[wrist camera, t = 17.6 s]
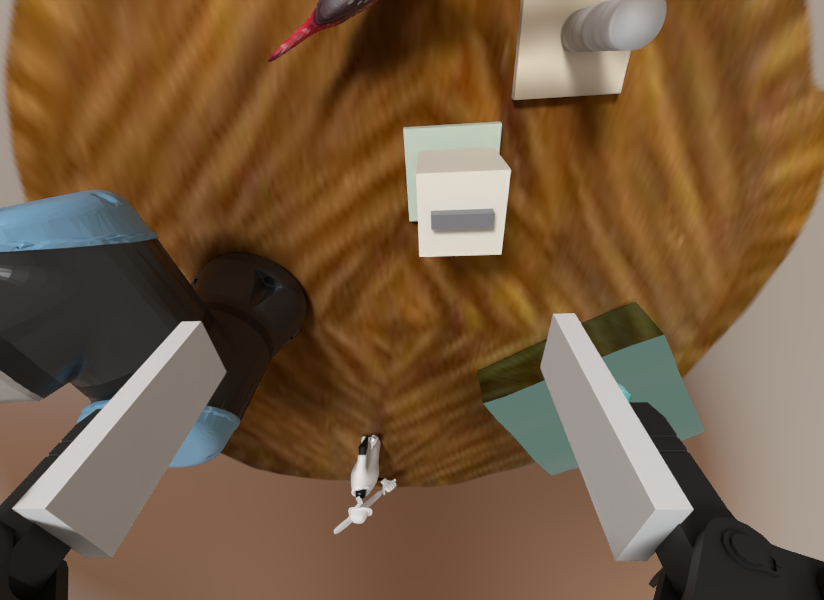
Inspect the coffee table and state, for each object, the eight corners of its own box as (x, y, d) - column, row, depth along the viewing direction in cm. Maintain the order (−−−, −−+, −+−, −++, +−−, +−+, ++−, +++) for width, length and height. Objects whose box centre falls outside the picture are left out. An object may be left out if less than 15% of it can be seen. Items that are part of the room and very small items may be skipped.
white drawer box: (420, 221, 37) (419, 262, 30) (417, 150, 33) (415, 177, 26) (488, 219, 37) (503, 260, 29) (494, 147, 33) (513, 173, 25)
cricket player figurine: (398, 460, 74) (392, 541, 61) (349, 457, 74) (334, 537, 61) (401, 424, 66) (396, 507, 54) (347, 420, 66) (330, 502, 54)
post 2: (614, 92, 34) (691, 106, 24) (511, 98, 35) (545, 115, 25) (648, -50, 28) (767, -107, 18) (524, -39, 29) (575, -89, 19)
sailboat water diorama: (632, 297, 48) (710, 388, 35) (677, 393, 59) (750, 491, 46) (477, 368, 58) (492, 462, 44) (541, 440, 69) (569, 533, 55)
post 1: (492, 213, 42) (512, 262, 32) (409, 217, 42) (404, 266, 32) (499, 121, 36) (527, 145, 26) (403, 127, 36) (395, 153, 27)
